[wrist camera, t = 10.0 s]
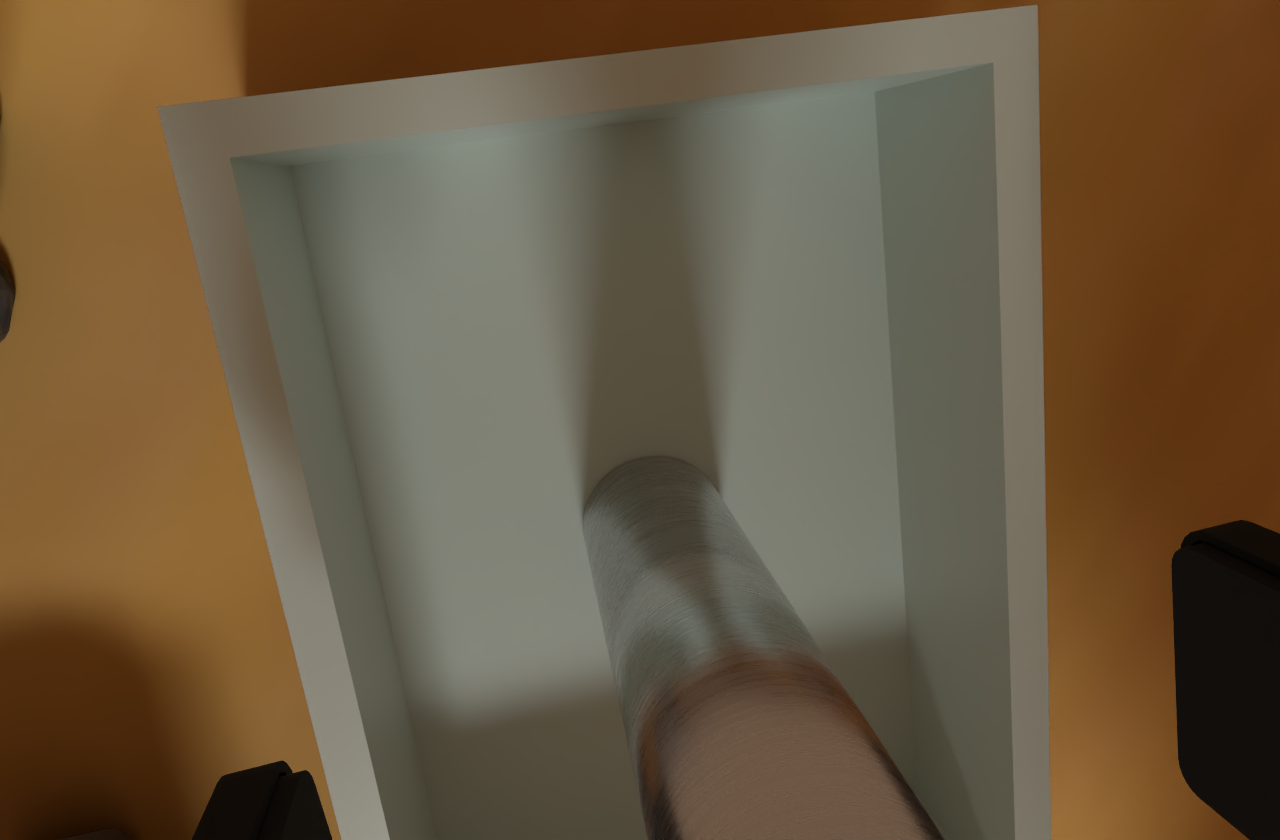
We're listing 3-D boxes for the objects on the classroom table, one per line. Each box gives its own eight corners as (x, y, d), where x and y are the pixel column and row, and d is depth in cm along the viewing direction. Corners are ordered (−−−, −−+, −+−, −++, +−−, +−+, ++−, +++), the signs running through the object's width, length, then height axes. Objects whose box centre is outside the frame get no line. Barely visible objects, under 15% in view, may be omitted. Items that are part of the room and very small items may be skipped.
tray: (892, 52, 15) (1038, 4, 11) (932, 793, 19) (1052, 952, 15) (246, 130, 14) (157, 106, 10) (425, 913, 18) (412, 1122, 14)
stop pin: (746, 404, 15) (1265, 916, 5) (765, 600, 16) (1231, 1374, 6) (531, 439, 15) (588, 1070, 5) (564, 636, 16) (673, 1529, 6)
